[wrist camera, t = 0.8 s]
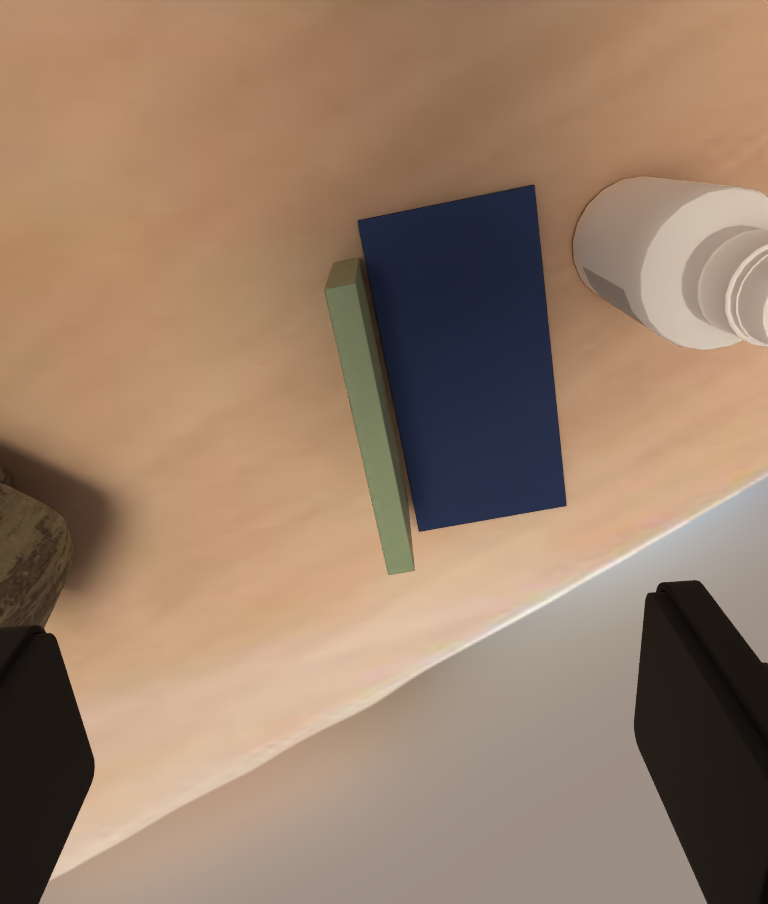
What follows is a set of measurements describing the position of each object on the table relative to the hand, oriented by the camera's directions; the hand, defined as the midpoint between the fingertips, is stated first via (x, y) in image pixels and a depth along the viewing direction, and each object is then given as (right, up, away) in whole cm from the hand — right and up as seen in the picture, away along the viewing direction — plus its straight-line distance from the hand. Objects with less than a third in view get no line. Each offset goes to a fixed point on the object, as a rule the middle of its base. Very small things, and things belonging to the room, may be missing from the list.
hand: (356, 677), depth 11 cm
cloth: (+6, +8, +32) cm, 33 cm away
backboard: (0, +7, +32) cm, 33 cm away
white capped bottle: (+14, +16, +29) cm, 36 cm away
